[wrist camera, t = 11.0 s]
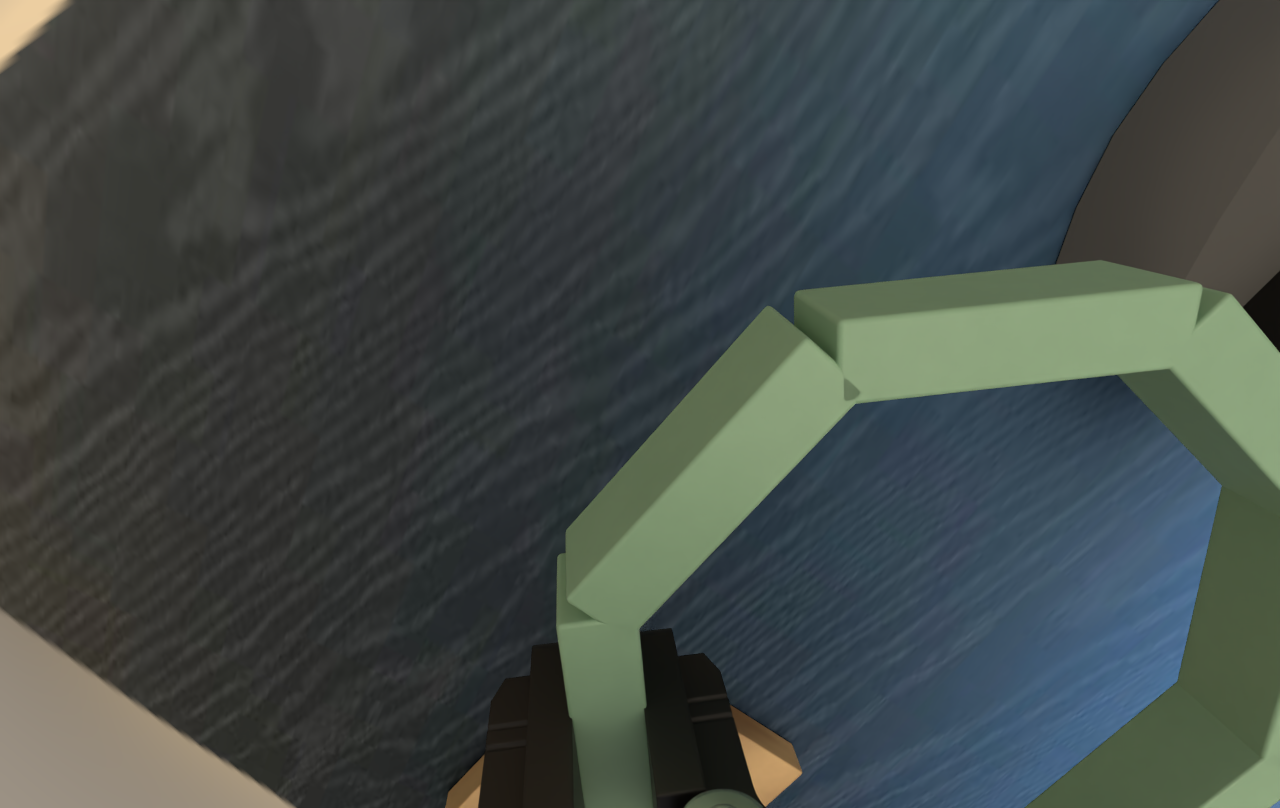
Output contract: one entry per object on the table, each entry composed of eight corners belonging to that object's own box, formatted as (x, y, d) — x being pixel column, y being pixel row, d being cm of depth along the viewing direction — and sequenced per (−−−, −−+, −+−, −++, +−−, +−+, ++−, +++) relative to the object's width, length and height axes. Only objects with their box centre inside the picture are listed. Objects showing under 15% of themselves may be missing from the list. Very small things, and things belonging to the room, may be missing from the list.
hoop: (1385, 563, 14) (1509, 628, 12) (900, 955, 17) (942, 1057, 15) (963, 81, 10) (1051, 71, 8) (420, 690, 13) (397, 783, 11)
